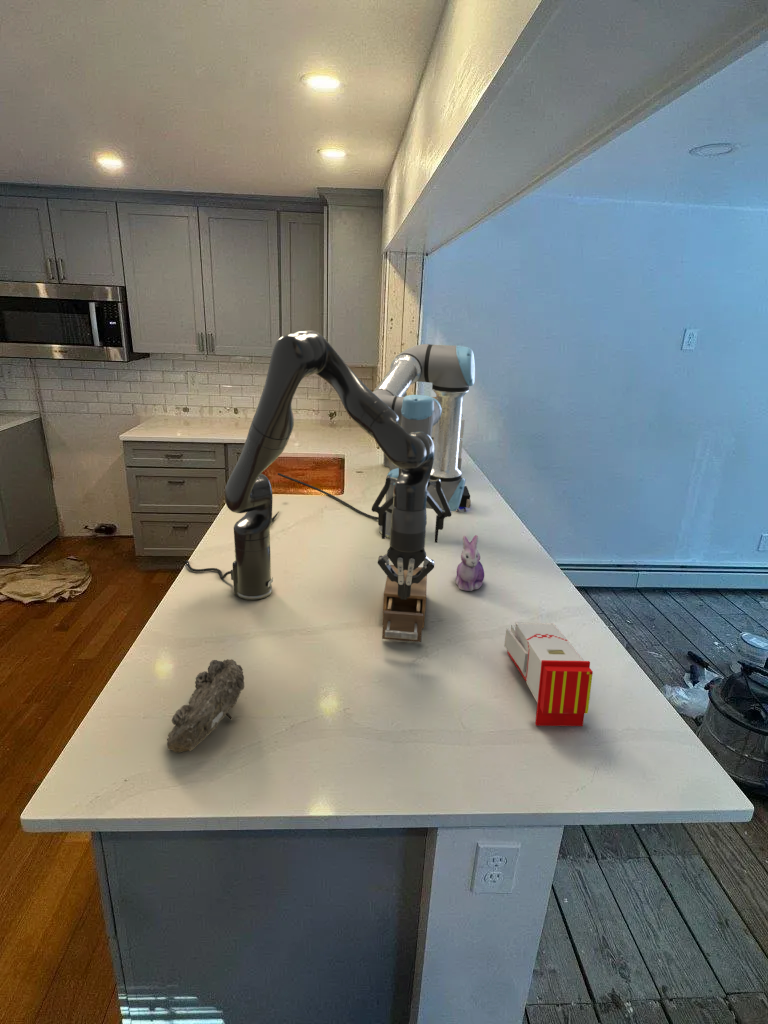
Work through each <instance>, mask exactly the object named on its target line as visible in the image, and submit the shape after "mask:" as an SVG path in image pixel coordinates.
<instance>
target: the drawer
mask: <svg viewBox="0 0 768 1024" xmlns="http://www.w3.org/2000/svg"><path fill="white" fill-rule="evenodd" d="M422 621H423V614H422V613H420V599H412V598H407V600H404V599H400V597H389V602H388V608H387V611H385V610H384V612H383V611H382V622H383V625H382V632H381V633H382V634H381V639H382V640H391V641H404V642H414V643H422V634H423V632H422V631H423V628H422Z"/></svg>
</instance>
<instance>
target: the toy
mask: <svg viewBox="0 0 768 1024" xmlns="http://www.w3.org/2000/svg"><path fill="white" fill-rule="evenodd" d="M503 645H504V647H505V649H506V650H507V655H508V656H509V658H510V659H511V662H513V664H514V666H515V667H516V669H517V670H518V672H519V673H520V675H521V676H522V679H523V680H524V681H525V683H526V686H527V687H528V689H529V690H530V693H531V694H532V696H533V698H534V700H535V701H536V703H537V704H536V714H535V722H534V723H535V726H537V727H541V726H542V727H583V726H584V719H585V715H586V714H587V715H588V714H589V706H590V705H589V704H590V699H591V691H592V683H593V682H592V681H593V674H594V673H593V672H594V671H593V670H592V669H591V668H590V667H591V661H590V660H584V659H583V658H582V657H581V655H580V654H579V653H578V651H577V650H576V649H575V648H574V647H573V645H572V644H571V643H570V642H569V640H568V639H567V638H566V636H564V633H562V632H561V630H560V629H559V628H558V627H557V625H556V624H555V623H553V622H515V624H511V625H510V628H506V630H505V638H504V644H503Z"/></svg>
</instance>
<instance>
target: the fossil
mask: <svg viewBox="0 0 768 1024" xmlns="http://www.w3.org/2000/svg"><path fill="white" fill-rule="evenodd" d="M243 670H244V669H243V667H242V665H240V664H237V662H236V661H235V660H234V659H232V658H231V659H227V658H226V659H224V660H223V661H222V660H217V659H212V660H211V661H210V663H209V665H208V666H207V671H201V672H199V673H198V674H197V675H196V676H195V680H194V684H195V685H194V687H195V689H194V690H193V693H192V694H191V697H190V698H189V700H188V704H184V705H182V706H181V707H180V709H177V710H176V711H175V713H174V715H173V716H172V718H171V723H172V724H173V727H172V730H171V731H170V732H168V734H167V738H166V741H167V742H166V745H167V749H168V750H169V751H173V752H174V753H176V754H178V753H182V752H188V751H189V752H192V751H193V750H195V748H196V747H197V746H199V744H200V743H201V742H203V741H204V740H205V739H206V738H207V737H208V736H209V735H210V734H211V733H212V732H214V730H215V729H217V727H218V726H219V724H220V722H221V721H222V720H223V719H224V718H225V716H226V717H227V719H229V720H233V717H232V715H230V714H229V710H230V709H231V708H234V706H235V704H236V703H237V702H238V699H239V697H240V695H241V693H242V691H243V690H245V689H244V688H245V675H244V671H243Z"/></svg>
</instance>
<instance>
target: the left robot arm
mask: <svg viewBox="0 0 768 1024" xmlns="http://www.w3.org/2000/svg"><path fill="white" fill-rule="evenodd" d="M314 374H315V375H317V376H318V377H320V378H321V379H323V380H324V381H326V383H328V384H329V385H330V386H331V387H332V388H333V390H334V391H335V393H336V394H337V396H338V397H339V400H340V402H341V404H342V406H343V408H344V410H345V412H346V413H347V415H348V416H349V417H350V419H351V420H352V421H353V422H354V423H355V424H356V425H358V427H360V428H361V429H362V430H363V431H364V432H365V433H367V434H368V435H369V436H370V437H371V438H372V439H374V441H375V443H376V444H377V445H378V447H379V448H380V450H381V451H382V452H383V455H384V454H385V455H386V456H387V458H388V459H389V460H390V461H391V462H392V463H393V464H394V465H395V466H397V467H399V468H400V469H402V470H401V474H400V476H399V478H398V479H397V481H396V482H395V486H394V497H393V509H392V515H391V533H390V538H389V547H388V549H387V552H386V553H385V554H384V555H379V557H378V559H377V565H378V566H379V568H381V570H382V571H383V572H384V574H385V575H386V577H387V576H388V578H389V579H390V580H391V581H392V582H394V581H395V582H397V583H398V597H401V598H400V599H404V600H407V597H410V593H411V585H412V584H413V583H416V584H418V583H419V582H420V581H421V580H422V579H423V578H424V577H425V576H426V575H427V576H428V575H429V574H430V572H432V570H433V569H435V560H434V559H430V558H429V557H428V556H427V552H426V548H425V545H426V533H427V532H426V531H427V520H428V516H427V515H428V514H427V508H426V502H427V486H428V482H429V479H430V475H431V471H432V466H433V462H434V454H435V449H434V443H433V441H432V439H431V437H430V436H429V435H428V434H427V433H425V432H422V431H415V432H412V433H409V434H408V433H407V432H406V431H405V430H404V429H403V428H402V427H401V426H400V425H399V417H398V415H397V414H396V413H395V412H394V411H393V410H392V409H391V408H390V407H389V406H388V405H387V404H385V403H384V402H383V401H382V400H381V399H380V398H378V397H377V396H376V395H375V394H374V393H373V391H372V390H371V389H370V388H368V387H367V386H366V384H365V383H364V382H363V381H362V380H361V379H360V377H358V375H356V373H355V372H354V371H353V370H352V369H351V368H350V367H349V365H348V364H347V363H346V362H345V360H344V359H343V357H341V356H340V354H338V352H337V350H336V349H335V348H334V347H333V346H332V345H331V344H330V343H329V341H327V339H326V338H325V337H324V336H323V335H322V334H320V333H319V332H318V331H316V330H314V329H302V330H298V331H293V332H289V333H286V334H284V335H282V336H280V338H278V339H277V341H276V342H275V344H274V346H273V348H272V352H271V356H270V360H269V365H268V369H267V374H266V379H265V382H264V386H263V390H262V392H261V396H260V398H259V401H258V405H257V408H256V411H255V413H254V415H253V417H252V420H251V423H250V426H249V429H248V432H247V436H246V439H245V442H244V444H243V446H242V449H241V452H240V454H239V457H238V460H237V462H236V464H235V465H234V467H233V469H232V471H231V473H230V475H229V477H228V479H227V482H226V485H225V487H224V488H225V489H224V502H225V505H226V507H227V508H228V510H229V511H230V512H232V513H235V514H244V515H243V516H242V517H241V518H240V519H238V520H237V521H236V522H235V523H234V525H233V539H234V559H235V560H234V561H233V562H232V569H230V570H229V571H226V572H225V573H224V574H223V572H222V570H221V569H219V568H217V567H208V568H193V567H192V566H191V565H190V561H189V560H185V561H184V562H183V564H186V566H187V568H188V570H189V571H191V572H195V573H202V572H203V573H204V572H210V571H211V572H218V574H219V578H221V579H225V578H227V576H228V575H230V580H232V581H233V596H237V597H239V598H240V599H243V600H245V601H246V600H248V601H256V600H257V601H258V600H263V599H265V598H267V597H269V596H270V595H271V594H272V591H273V587H272V586H273V585H272V584H273V582H274V577H273V576H272V563H271V562H272V561H271V560H272V559H271V532H270V531H271V526H272V525H273V523H272V518H273V503H274V502H273V501H274V500H273V498H274V497H273V488H272V487H273V486H272V483H271V481H270V480H269V478H268V476H266V475H265V474H264V473H263V472H264V471H265V470H267V468H268V467H269V466H271V465H272V464H273V463H274V462H275V461H276V460H277V459H278V458H279V457H280V456H281V454H282V453H283V452H284V451H285V449H286V447H287V445H288V442H289V440H290V437H291V435H292V433H293V429H294V424H295V419H294V413H293V408H292V407H293V406H292V403H293V398H294V397H295V393H296V391H297V389H298V388H299V385H300V384H301V382H302V381H303V379H304V378H305V377H309V376H311V375H314ZM390 562H391V563H392V565H394V566H395V567H396V568H397V569H398V574H396V572H395V571H394V570H393V569H392V567H391V566H390V565H391V564H390ZM187 563H188V564H187ZM421 564H422V566H421ZM420 566H421V567H422V568H421V569H420V570H419V571H418V572H417V573H416V574H415V575H413V570H415V569H417V567H420ZM404 570H407V577H406V581H404Z"/></svg>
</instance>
